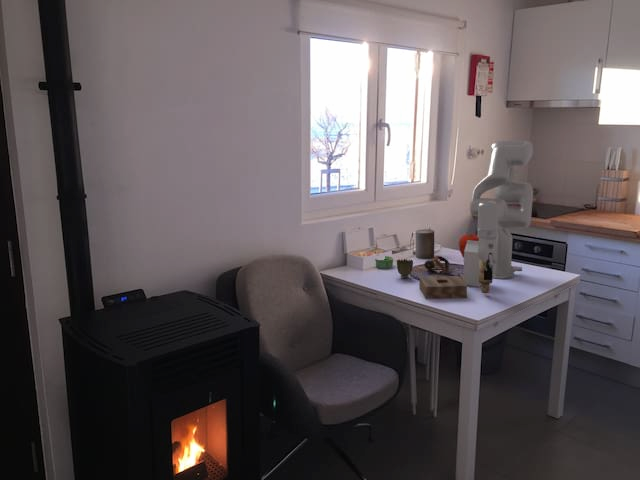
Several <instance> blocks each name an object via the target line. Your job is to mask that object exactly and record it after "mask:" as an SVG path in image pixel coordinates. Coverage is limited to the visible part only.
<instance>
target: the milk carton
mask: <svg viewBox="0 0 640 480" xmlns="http://www.w3.org/2000/svg"><path fill="white" fill-rule="evenodd" d="M478 244H479V241H470V240H467V244H466V247H465V250H464V258H463V277H462V278H463V279H462V281H463V282H464V283H465V284H466V285H467V286H471V287H477V288H478V287H479V288H481V283H480V282H479V260H480V259H479V257H478Z"/></svg>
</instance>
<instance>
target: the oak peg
mask: <svg viewBox="0 0 640 480" xmlns="http://www.w3.org/2000/svg"><path fill="white" fill-rule="evenodd" d="M486 263H489V261H486ZM488 265H489V264H487V266H488ZM484 270H485V263H484V262H483V261H481V260H479V282H480V283H481V286H480V291H481V293H482V294H489V292H490V285H491V284H492V283H493V279H494V278H493V272H492V280H484Z"/></svg>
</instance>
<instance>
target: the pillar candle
mask: <svg viewBox="0 0 640 480" xmlns="http://www.w3.org/2000/svg"><path fill="white" fill-rule="evenodd" d="M415 257H416V258H417V259H422V260H423V259H424V260H426V259H427V260H428V259H429V260H430V259H433V258H435V230H433V229H428V228H424V229H417V230H415Z"/></svg>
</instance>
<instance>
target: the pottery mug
mask: <svg viewBox="0 0 640 480" xmlns="http://www.w3.org/2000/svg"><path fill="white" fill-rule="evenodd" d="M443 262H444V263H443ZM444 264H445V265H444ZM436 266H438V267H440V268H441V269H442V270H441V272H440V273H441V274H442V273H444V274H445V273H446V272H447V271H448V270H449V268H450V267H449V266H450V262H449V260H448V259H446V257H443V256H441V255H437V256H435V257H434V258H431V260H430V259H429V260H428V259H427V260H426V261H424V268H425V269H426V270H428V271H427V272H432V270H433V269H432V268H434V269H435V267H436Z"/></svg>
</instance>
